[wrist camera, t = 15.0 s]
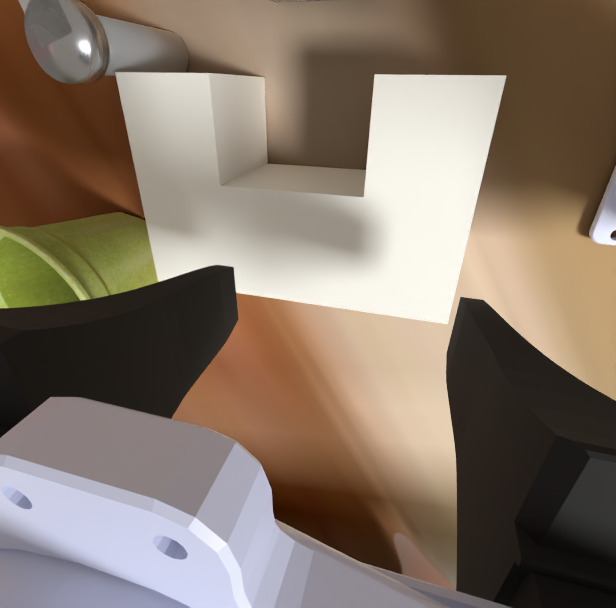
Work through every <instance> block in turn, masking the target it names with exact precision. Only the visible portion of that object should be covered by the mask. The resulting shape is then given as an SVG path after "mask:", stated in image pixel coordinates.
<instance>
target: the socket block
mask: <svg viewBox="0 0 616 608" xmlns="http://www.w3.org/2000/svg"><path fill="white" fill-rule="evenodd" d="M95 15H96V14H95ZM96 16H97V17H98V19H99V20H100V22H101V24H102V26H103V28H104V30H105V33H106V35H107V39H108V43H109V50H110V60H109V66H108V69H107V72H106V73H105V76H116V79H117V84H118V89H119V94H120V98H121V103H122V108H123V113H124V118H125V123H126V128H127V133H128V137H129V142H130V147H131V152H132V157H133V162H134V167H135V172H136V176H137V181H138V186H139V191H140V196H141V201H142V206H143V211H144V215H145V220H146V225H147V230H148V235H149V240H150V245H151V250H152V254H153V259H154V264H155V269H156V274H157V279H158V281H164V280H167V279H170V278H173V277H176V276H179V275H182V274H185V273H188V272H191V271H194V270H197V269H201V268H204V267H208V266H212V265H223V266H230V267H234V277H235V288H236V293H242V294H249V295H255V296H262V297H269V298H275V299H282V300H289V301H296V302H302V303H309V304H316V305H322V306H329V307H336V308H343V309H349V310H356V311H363V312H369V313H376V314H383V315H389V316H396V317H403V318H410V319H416V320H423V321H430V322H436V323H443V324H448V320H449V316H450V312H451V308H452V303H453V299H454V295H455V291H456V287H457V282H458V278H459V274H460V270H461V265H462V261H463V257H464V253H465V249H466V244H467V240H468V236H469V232H470V227H471V223H472V219H473V215H474V211H475V206H476V202H477V198H478V194H479V190H480V185H481V181H482V177H483V173H484V168H485V164H486V160H487V156H488V152H489V147H490V143H491V139H492V135H493V131H494V126H495V122H496V118H497V114H498V109H499V105H500V101H501V97H502V93H503V88H504V84H505V80H506V76H507V75H388V74H375V75H374V86H373V98H372V109H371V120H370V132H369V143H368V155H367V166H366V170H359V169H344V168H329V167H313V166H298V165H282V164H268V159H267V132H266V104H265V77H255V76H242V75H229V74H215V73H185V72H186V70H187V68H188V63H189V55H188V50H187V47H186V45H185V43H184V41H183V40H182V39H181V37H180V36H178V35H177V34H176V33H174V32H171V31H166V30H162V29H157V28H153V27H149V26H144V25H140V24H135V23H131V22H127V21H122V20H118V19H113V18H109V17H104V16H100V15H96Z"/></svg>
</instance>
